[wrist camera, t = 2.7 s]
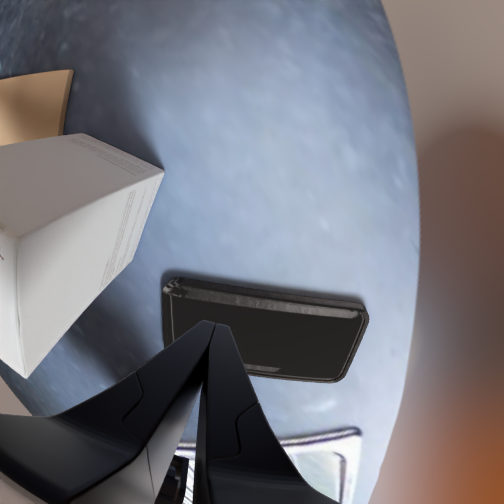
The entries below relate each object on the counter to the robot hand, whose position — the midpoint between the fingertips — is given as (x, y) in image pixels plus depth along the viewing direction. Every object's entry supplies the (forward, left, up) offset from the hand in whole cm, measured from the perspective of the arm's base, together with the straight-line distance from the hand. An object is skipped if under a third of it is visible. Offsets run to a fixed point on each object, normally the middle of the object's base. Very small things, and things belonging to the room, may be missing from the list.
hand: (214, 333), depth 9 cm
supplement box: (0, +10, -11) cm, 15 cm away
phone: (-8, -3, -11) cm, 14 cm away
